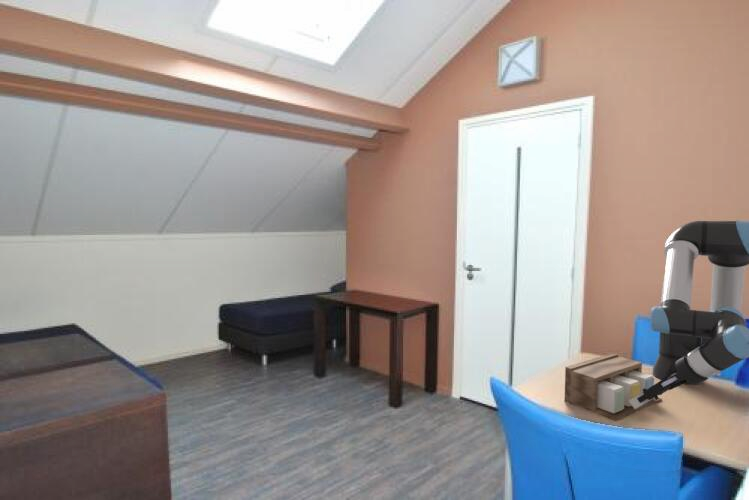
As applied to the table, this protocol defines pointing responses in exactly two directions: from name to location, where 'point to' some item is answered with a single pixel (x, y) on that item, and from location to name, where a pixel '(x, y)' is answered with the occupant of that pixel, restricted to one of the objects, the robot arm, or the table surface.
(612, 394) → the sage key
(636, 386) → the mustard key
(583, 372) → the brown boxy piece
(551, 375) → the table surface
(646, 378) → the white and blue block
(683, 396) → the table surface
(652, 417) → the table surface
